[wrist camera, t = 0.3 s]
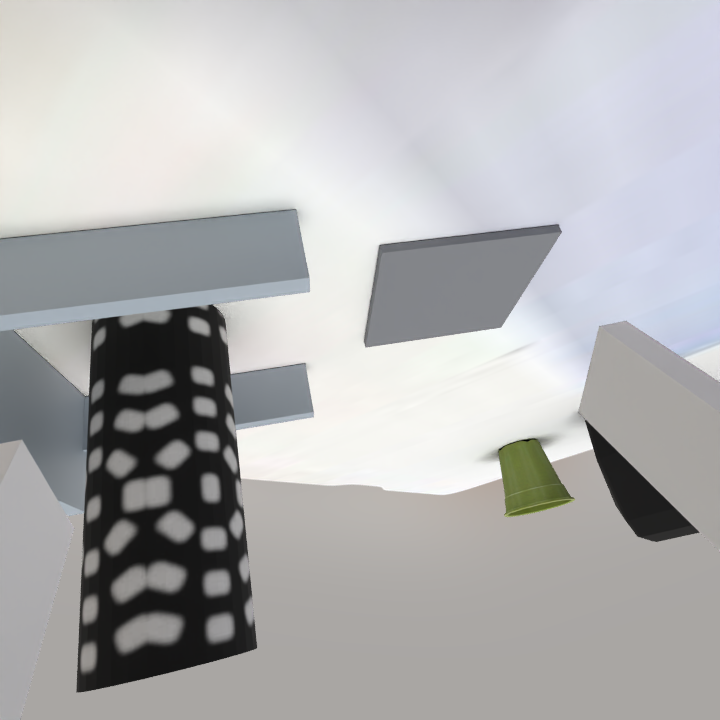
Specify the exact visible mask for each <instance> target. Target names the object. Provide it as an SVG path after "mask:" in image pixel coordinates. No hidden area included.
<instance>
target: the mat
mask: <svg viewBox="0 0 720 720" xmlns="http://www.w3.org/2000/svg"><path fill="white" fill-rule="evenodd" d="M561 233H562V231H561V229H560V227H559V225H554V226H545V227H536V228H528V229H519V230H510V231H501V232H493V233H484V234H475V235H466V236H458V237H449V238H440V239H431V240H423V241H414V242H405V243H396V244H388V245H380V248H379V254H378V260H377V266H376V272H375V278H374V284H373V290H372V297H371V303H370V309H369V315H368V321H367V327H366V333H365V339H364V343H365V347H372V346H379V345H386V344H392V343H399V342H406V341H413V340H420V339H426V338H433V337H440V336H447V335H454V334H460V333H467V332H474V331H481V330H488V329H494V328H501V327H502V325H503V324H504V322H505V320H506V319H507V317H508V316H509V314H510V313H511V311H512V310H513V308H514V306H515V305H516V303H517V302H518V300H519V299H520V297H521V295H522V294H523V292H524V291H525V289H526V288H527V286H528V284H529V283H530V281H531V280H532V278H533V277H534V275H535V273H536V272H537V270H538V269H539V267H540V266H541V264H542V262H543V261H544V259H545V258H546V256H547V255H548V253H549V251H550V250H551V248H552V247H553V245H554V244H555V242H556V241H557V239H558V237H559V236H560V234H561Z"/></svg>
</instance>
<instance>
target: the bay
mask: <svg viewBox="0 0 720 720" xmlns="http://www.w3.org/2000/svg"><path fill="white" fill-rule="evenodd" d="M306 292H310V280H309V273H308V268H307V263H306V258H305V253H304V247H303V242H302V237H301V232H300V227H299V222H298V217H297V212H296V210H287V211H277V212H267V213H257V214H247V215H237V216H227V217H217V218H207V219H197V220H187V221H177V222H167V223H157V224H147V225H137V226H127V227H117V228H107V229H97V230H87V231H77V232H67V233H57V234H47V235H37V236H27V237H17V238H7V239H0V444H2V443H7V442H12V441H17V440H23V442H24V444H25V445H26V447H27V449H28V451H29V452H30V454H31V456H32V457H33V459H34V461H35V463H36V464H37V466H38V468H39V469H40V471H41V473H42V474H43V476H44V478H45V480H46V481H47V483H48V485H49V486H50V488H51V490H52V491H53V493H54V495H55V497H56V498H57V500H58V502H59V503H60V505H61V507H62V509H63V510H64V512H65V514H66V515H69V516H71V515H77V514H82V513H84V505H85V481H86V458H87V434H88V411H89V396H86V397H85V396H84V395H83V394H82V393H81V392H80V391H78V390H77V389H76V388H75V387H74V386H73V385H72V384H71V383H70V382H69V381H68V380H66V379H65V378H64V377H63V376H62V375H61V374H60V373H59V372H58V371H57V370H56V369H54V368H53V367H52V366H51V365H50V364H49V363H48V362H47V361H46V360H45V359H44V358H42V357H41V356H40V355H39V354H38V353H37V352H36V351H35V350H34V349H33V348H32V347H30V346H29V345H28V344H27V343H26V342H25V341H24V340H23V339H22V338H21V337H20V336H18V335H17V334H16V333H15V332H14V331H13V330H14V329H22V328H30V327H37V326H45V325H53V324H61V323H69V322H77V321H85V320H93V319H101V318H108V317H116V316H124V315H132V314H140V313H148V312H156V311H164V310H172V309H179V308H187V307H195V306H203V305H211V304H219V303H227V302H235V301H242V300H250V299H258V298H266V297H274V296H282V295H290V294H298V293H306ZM230 376H231V386H232V396H233V406H234V417H235V427H236V430H240V429H246V428H252V427H258V426H264V425H270V424H276V423H282V422H287V421H293V420H299V419H305V418H311V417H314V411H313V406H312V400H311V394H310V388H309V383H308V377H307V371H306V366H305V364H300V365H293V366H286V367H279V368H273V369H266V370H259V371H253V372H246V373H239V374H233V375H230Z"/></svg>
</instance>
